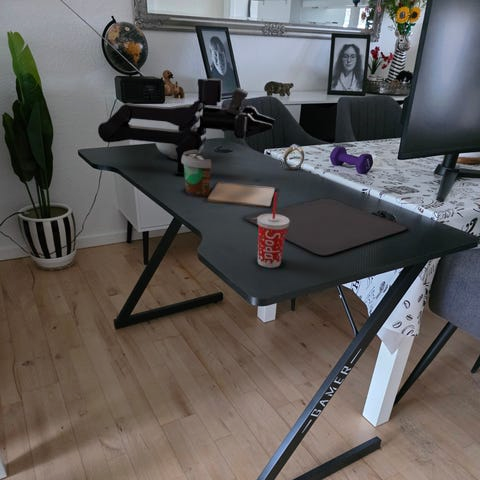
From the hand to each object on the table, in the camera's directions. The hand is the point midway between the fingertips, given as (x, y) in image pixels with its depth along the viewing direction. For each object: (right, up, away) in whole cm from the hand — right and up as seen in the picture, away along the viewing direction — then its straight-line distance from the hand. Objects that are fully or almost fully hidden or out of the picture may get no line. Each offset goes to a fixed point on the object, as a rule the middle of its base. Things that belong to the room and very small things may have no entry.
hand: (273, 124), depth 129 cm
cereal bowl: (-31, +1, +29) cm, 42 cm away
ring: (+8, -5, +24) cm, 26 cm away
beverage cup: (-4, -45, -40) cm, 61 cm away
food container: (-23, -21, -4) cm, 31 cm away
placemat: (-9, -22, -4) cm, 24 cm away
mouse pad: (+11, -33, -20) cm, 40 cm away
